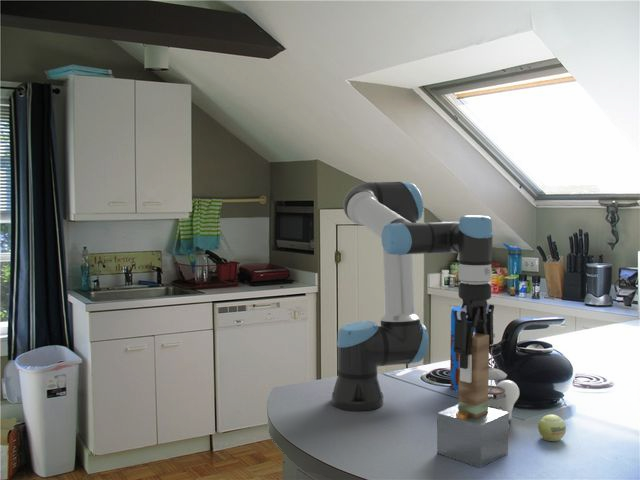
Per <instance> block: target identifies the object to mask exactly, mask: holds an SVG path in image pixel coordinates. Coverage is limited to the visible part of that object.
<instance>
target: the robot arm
mask: <svg viewBox="0 0 640 480" xmlns="http://www.w3.org/2000/svg"><path fill="white" fill-rule="evenodd" d="M342 205H343V207H342V208H343V211H344V214H345V215H346V217H347V218H348V219H349V220H350V221H351V222H352V223H354V224H357V225H362V226H364V227H366V228H367V229H368V230H369V231H371V232H372V233H374V234H375V235H376V236H377V237H379V239H381V246H382V254H383V255H382V256H383V257H382V258H383V281H384V282H383V283H384V287H383V288H384V309H385V310H384V311H385V313H384V315H383V316H382V317H381V318H380V326H379V325H378V324H377V323H376V321H375V322H374V321H372V320H371V321H368V320H367V321H362V320H361V321H356V322H355V321H354V322H350V323H346V324H345V325H343V326H341V327H340V328H339V329H338V331H337V341H336V346H337V347H336V348H337V377H336V381H335V384H334V386H333V387H334V388H333V391H332V393H331V404H332V405H333V406H334V407H336V408H337V409H340V410H341V409H342V410H345V411H346V410H347V411H354V412H355V411H357V412H358V411H370V410H376V409H379V408H380V407H382V406H383V404H384V394H383V392H382V389H381V386H380V382H379V378H378V368H379V367H387V366H396V365H405V366H407V365H410V364H415V363H416V364H417V363H420V362H421V361H422V360H423V359H424V358H425V356H426V355H427V352H428V348H429V333H428V332H427V331H428V330H427V326H426V325H425V324H424V323H421V319H420V317H419V316H418V315H417V314H416V312H415V296H414V295H415V292H414V269H413V268H414V267H413V266H414V265H413V255H421V254H423V255H424V254H444V253H446V254H447V253H455V254H458V281H459V283H458V294H457V295H458V298H460V299H461V300H462V304H461V306H462V309H461V310H459V311H457V310H455V311H454V316H455V335H454V352H456V353H458V354H460V381H464V382H468V383H471V382H472V355H470V349H471V343H472V338H473V332H474V327H475V330H476V333H480V334H486V335H489V350H491V349H492V350H493V345H494V338H493V333H494V309H495V305H494V304H493V303H491V304H490V303H488V300H490V299H492V284H491V280H492V272H493V269H492V262H493V238H494V237H493V235H494V231H493V220H492V218H491V217H490V216H489V215H462V216H461V217H460V218H459V221H455V220H446V221H445V220H444V221H440V222H438V221H437V222H435V221H434V222H418V221H419V220H421V218H422V217H423V212H424V201H423V197H422V194H421V192H420V189H419V188H418V186H416V185H415V184H414V183H413V182H407V181H406V182H405V181H381V182H380V181H379V182H378V181H377V182H375V181H374V182H371V181H366V182H363V183H359V184H357V185H355V186H353V187H352V188H351V189H350V190H348V191H347V193H346V195H345V197H344V198H343V204H342ZM467 321H469V322H467ZM491 345H492V346H491Z"/></svg>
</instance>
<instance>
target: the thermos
mask: <svg viewBox="0 0 640 480" xmlns="http://www.w3.org/2000/svg"><path fill="white" fill-rule="evenodd" d="M461 309H462V305H461V306H460V305H458V306H454V307H451V310H450V311H451V312H450V364H449V365H450V366H449V368H450V369H449V370H450V371H449V377H450V389H452V390H453V391H456V392H459V354H458V353H456V352H454V335H455V316H454V311H455V310H457V311H459V310H461ZM467 322H469V321H467ZM474 332H475V333H476V330H475V327H474Z"/></svg>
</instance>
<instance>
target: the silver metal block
mask: <svg viewBox="0 0 640 480" xmlns="http://www.w3.org/2000/svg"><path fill="white" fill-rule="evenodd" d="M436 415H437V420H436V421H437V427H436V431H437V432H436V435H437V436H436V438H437V439H436V440H437V441H436V442H437V443H436V445H437V446H436V454H437V455H440V454H441V455H440V456H443V455H444V456H443V457H446V456H447V458H449V457H450V458H449V459H452V458H453V459H452V460H455V459H456V460H455V461H458V460H460V461H459V462H461V461H462V462H461V463H464V462H465V463H464V464H467V463H468V464H467V465H470V464H472V465H471V466H473V465H475V466H474V467H476V466H478V467H477V468H479V467H482V466H484V465H485V466H487V465H489V464H491V463H492V462H491V461H493V460H495V459H496V460H498V459H500V458H502V457H503V455H504V456H506V455H507V454H509V428H508V426H509V425H510V424H509V423H510V422H509V421H510V420H509V412H505V411H501V410H500V409H499V410H497V409H493V408H489V407H488V414H486V415H483V416H481V417H479V418H474V417H470V416H468V413H466V412H462V411H460V412H458V404H456V405H454V406H451V407H448V408H446V409H444V410H441V411H438V412H437V413H436ZM509 427H510V426H509ZM506 453H507V454H506ZM505 454H506V455H505ZM501 456H502V457H501ZM499 457H500V458H499ZM497 458H498V459H497ZM496 460H495V461H496ZM490 462H491V463H490ZM493 462H494V461H493ZM488 463H489V464H488ZM486 464H487V465H486ZM485 466H484V467H485ZM482 468H483V467H482Z"/></svg>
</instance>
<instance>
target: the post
mask: <svg viewBox="0 0 640 480" xmlns="http://www.w3.org/2000/svg"><path fill="white" fill-rule="evenodd" d="M470 355H472V382H471V383H468V382H464V381H460V354H459V391H458V395H457V396H458V402H457V403H458V404H457V405H458V412H460V411H462V412H466V413H468V416H470V417H474V418H479V417H481V416H483V415H486V414H488V406H489V405H488V397H489V395H488V385H489V368H490V366H489V365H490V349H489V335H486V334H480V333H475V332H473V338H472V343H471V349H470Z"/></svg>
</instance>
